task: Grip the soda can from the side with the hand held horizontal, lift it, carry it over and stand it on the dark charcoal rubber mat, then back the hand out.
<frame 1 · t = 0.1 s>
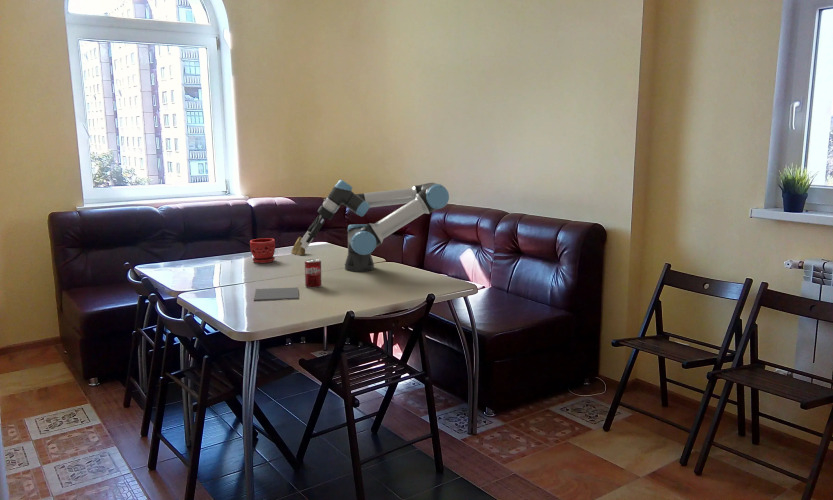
hand: (302, 245, 294), 15 cm above the table, tool tilted 35°, fingers open, 13 cm apart
mat: (276, 294, 262), on the table
rock: (298, 254, 353), on the table
plant pot: (263, 262, 331), on the table
soda can: (313, 287, 277), on the table
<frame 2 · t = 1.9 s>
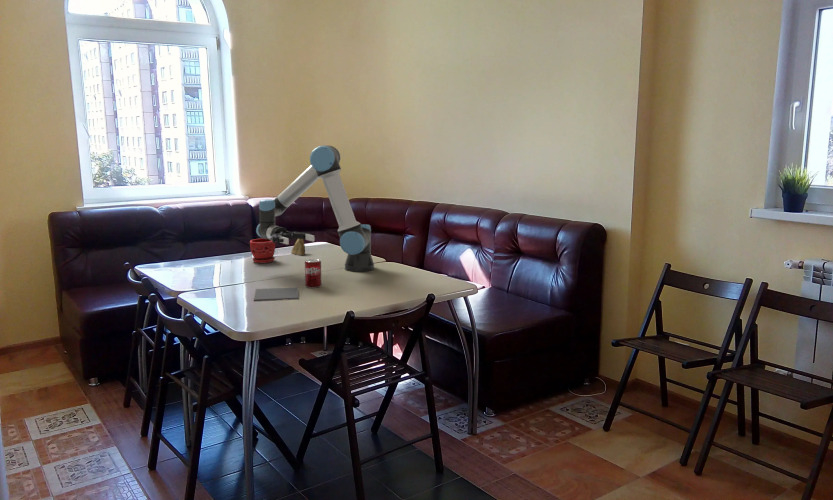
hand: (301, 240, 280), 20 cm above the table, tool horizontal, fingers open, 13 cm apart
nothing on the table moved.
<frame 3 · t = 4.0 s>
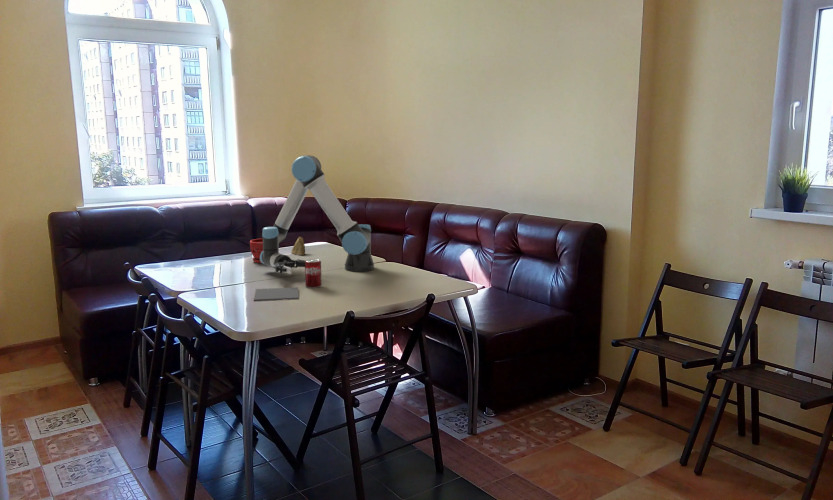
hand: (304, 269, 280), 7 cm above the table, tool horizontal, fingers open, 13 cm apart
nothing on the table moved.
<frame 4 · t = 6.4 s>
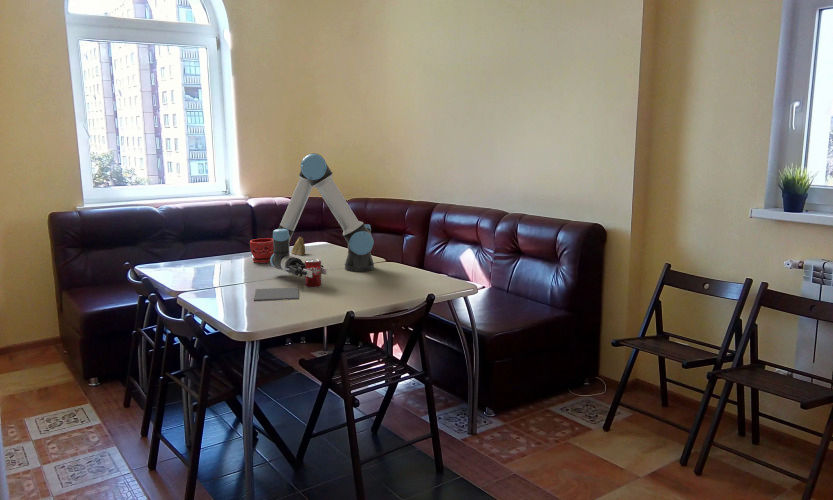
hand: (319, 273, 272), 7 cm above the table, tool horizontal, fingers closed on soda can, 7 cm apart
soda can: (313, 286, 277), on the table, touching gripper
everything else where it was.
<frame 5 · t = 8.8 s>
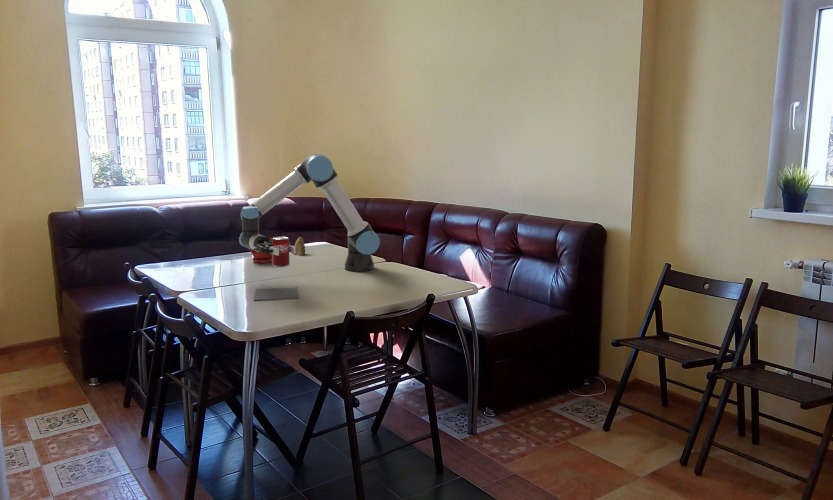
hand: (286, 251, 259), 19 cm above the table, tool horizontal, fingers closed on soda can, 7 cm apart
soda can: (280, 266, 264), point 12 cm above the table, touching gripper
everything else where it was.
when the fingers open (9 cm above the table, at t = 11.2 s): soda can drops 1 cm, resting on mat.
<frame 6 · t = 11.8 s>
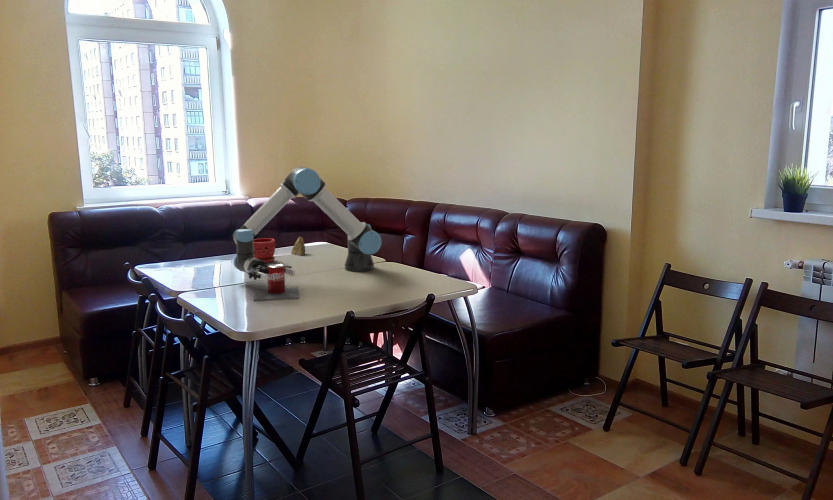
hand: (280, 275, 258), 9 cm above the table, tool horizontal, fingers open, 13 cm apart
soda can: (276, 293, 262), resting on mat
everything else where it was.
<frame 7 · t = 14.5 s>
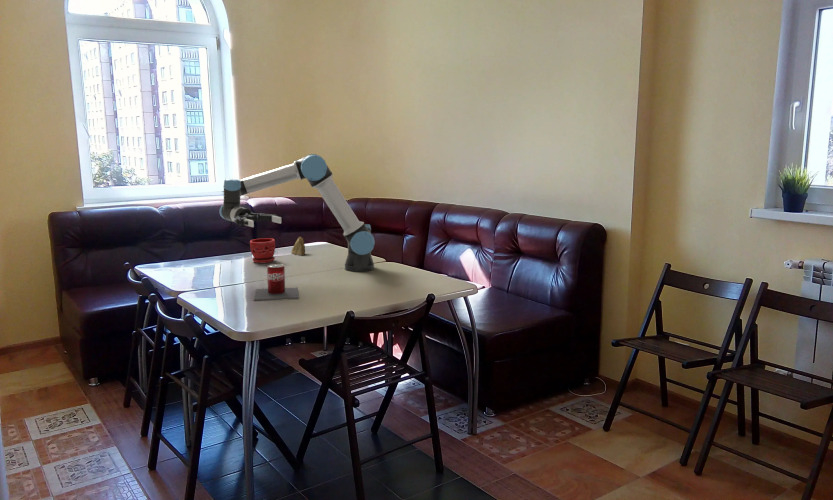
hand: (267, 222, 265), 30 cm above the table, tool horizontal, fingers open, 13 cm apart
nothing on the table moved.
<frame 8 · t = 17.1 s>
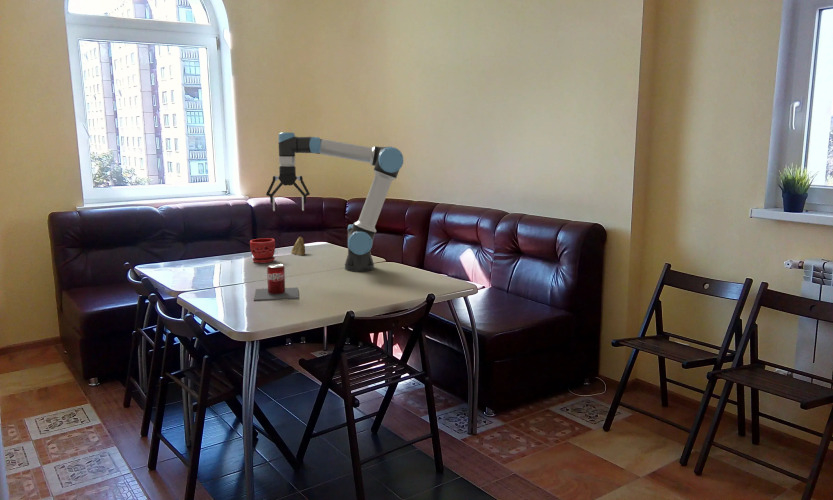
hand: (288, 210, 293), 32 cm above the table, tool pointing down, fingers open, 13 cm apart
nothing on the table moved.
at the end: soda can inside the target area on the mat (0.1 cm from its centre), point 0.4 cm above the mat's base; soda can tilted 0°; the gripper is holding nothing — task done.
